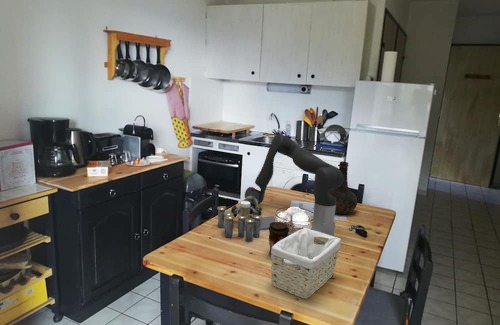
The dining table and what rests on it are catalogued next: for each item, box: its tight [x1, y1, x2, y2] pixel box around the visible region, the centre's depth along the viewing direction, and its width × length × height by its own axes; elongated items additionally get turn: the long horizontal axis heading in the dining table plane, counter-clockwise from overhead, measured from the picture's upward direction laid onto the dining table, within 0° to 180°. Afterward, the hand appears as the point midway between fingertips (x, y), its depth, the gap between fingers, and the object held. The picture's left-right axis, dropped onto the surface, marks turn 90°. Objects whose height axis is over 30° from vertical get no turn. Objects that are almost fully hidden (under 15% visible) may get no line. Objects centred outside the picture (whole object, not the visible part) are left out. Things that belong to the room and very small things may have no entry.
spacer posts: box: [216, 205, 263, 243], centre depth 166 cm, size 21×16×10 cm
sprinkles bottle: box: [239, 200, 250, 232], centre depth 170 cm, size 5×5×14 cm
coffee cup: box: [268, 221, 290, 257], centre depth 147 cm, size 9×8×13 cm
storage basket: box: [270, 227, 342, 300], centre depth 129 cm, size 24×16×15 cm
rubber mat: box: [253, 215, 276, 231], centre depth 179 cm, size 13×13×1 cm
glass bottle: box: [328, 161, 358, 215], centre depth 200 cm, size 18×18×28 cm
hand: (244, 216), depth 168 cm, fingers open, 8 cm apart
